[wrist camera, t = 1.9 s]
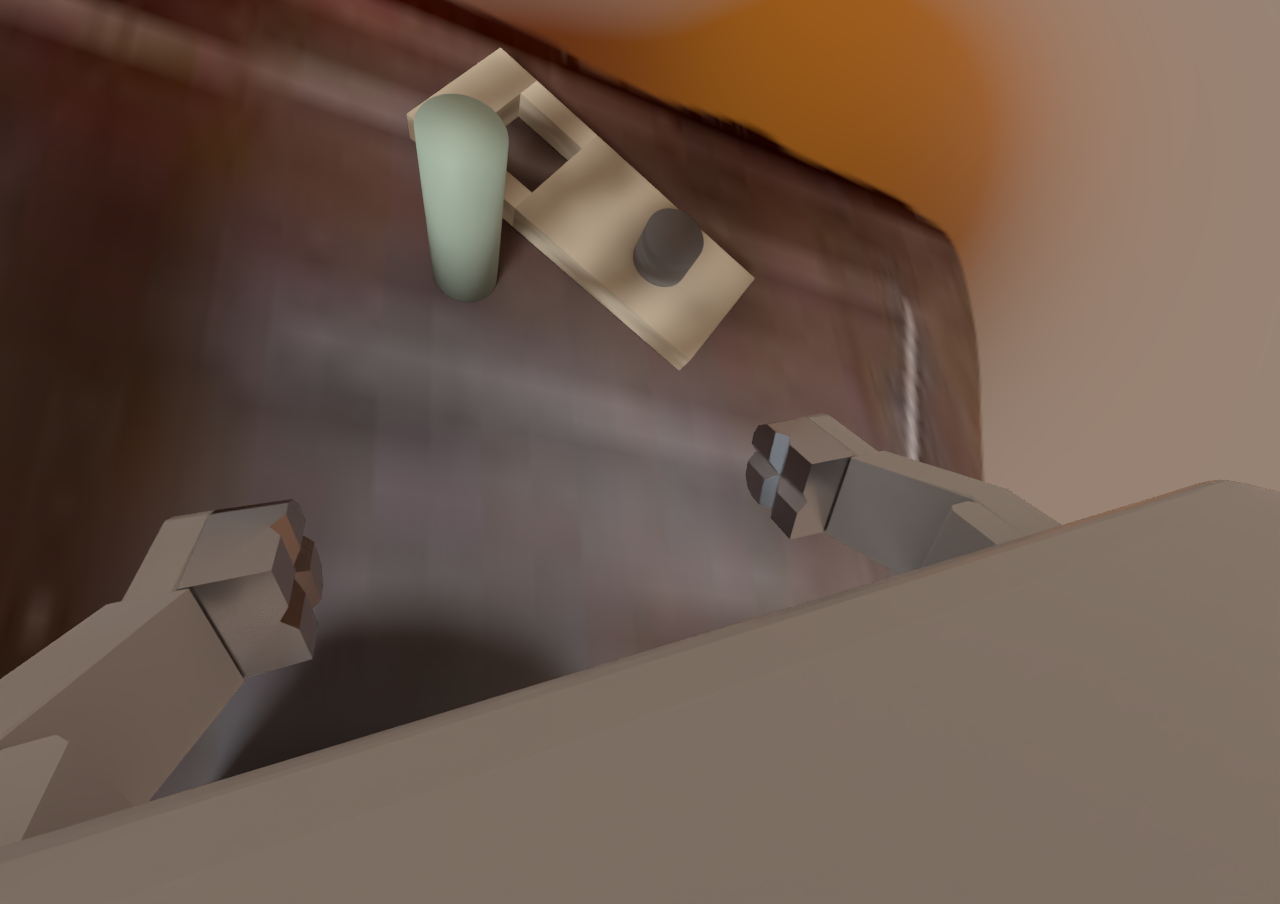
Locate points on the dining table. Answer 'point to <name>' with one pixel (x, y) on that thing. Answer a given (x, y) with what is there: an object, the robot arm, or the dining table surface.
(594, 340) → the dining table surface
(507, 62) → the hole plate
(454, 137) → the peg
